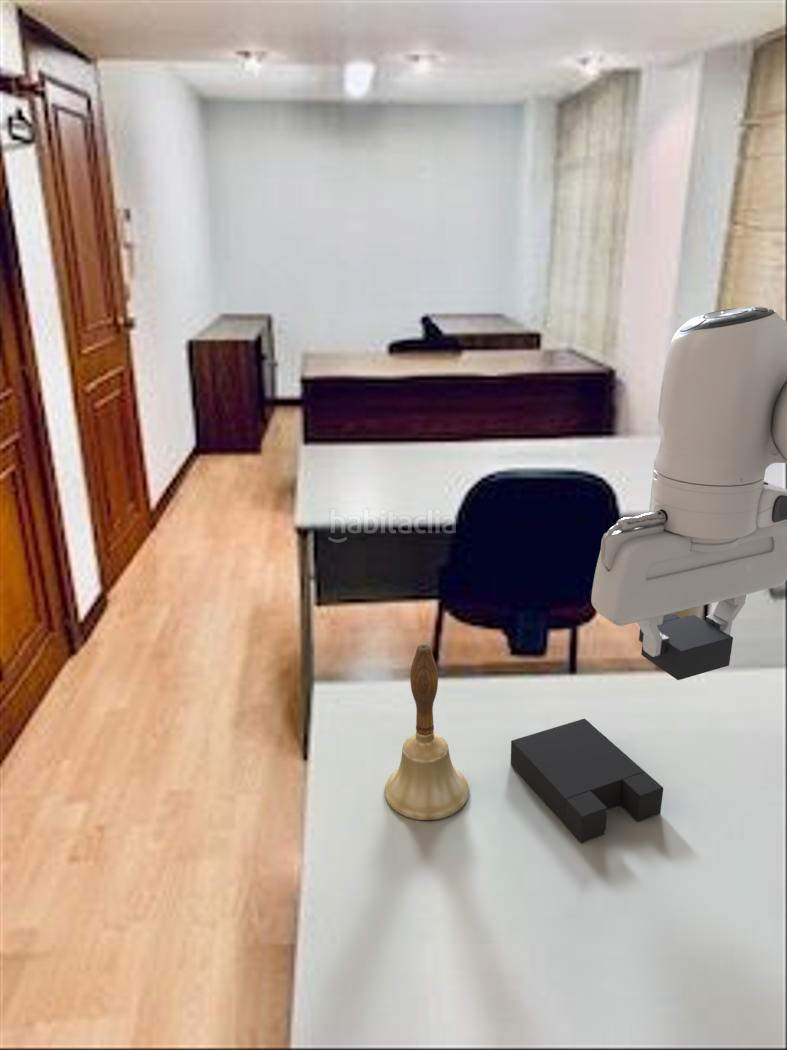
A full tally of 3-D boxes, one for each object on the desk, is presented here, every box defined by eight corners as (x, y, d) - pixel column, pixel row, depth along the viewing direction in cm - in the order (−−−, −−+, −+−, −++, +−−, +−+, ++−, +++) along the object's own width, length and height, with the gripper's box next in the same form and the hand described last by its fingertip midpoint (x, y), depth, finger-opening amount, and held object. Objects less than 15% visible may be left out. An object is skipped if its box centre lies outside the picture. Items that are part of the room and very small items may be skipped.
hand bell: (370, 780, 76) (363, 640, 71) (441, 754, 80) (440, 619, 74) (409, 833, 69) (405, 682, 64) (485, 802, 73) (487, 657, 67)
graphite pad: (673, 631, 76) (676, 604, 75) (729, 665, 70) (733, 637, 69) (625, 644, 74) (627, 616, 73) (677, 680, 68) (681, 651, 67)
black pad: (582, 741, 81) (584, 718, 80) (660, 813, 71) (663, 787, 70) (510, 764, 78) (510, 740, 77) (580, 843, 68) (582, 816, 67)
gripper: (629, 534, 59) (616, 686, 64) (820, 496, 66) (795, 635, 71) (581, 510, 65) (572, 652, 70) (762, 477, 72) (743, 608, 77)
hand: (686, 643), depth 71 cm, fingers closed on graphite pad, 6 cm apart
